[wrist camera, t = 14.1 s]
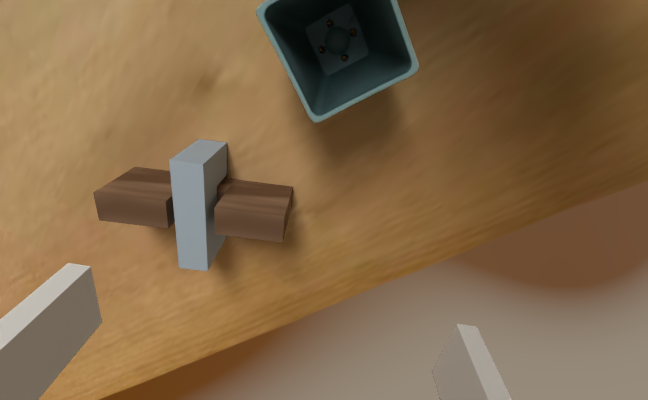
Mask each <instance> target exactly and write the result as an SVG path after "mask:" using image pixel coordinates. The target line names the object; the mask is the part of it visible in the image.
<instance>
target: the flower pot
mask: <svg viewBox="0 0 648 400" xmlns="http://www.w3.org/2000/svg"><path fill="white" fill-rule="evenodd" d="M256 15H257V17H258V19H259V21H260V23H261V25H262V27H263V29H264V31H265V33H266V34H267V36H268V38H269V40H270V42H271V44H272V46H273V47H274V49H275V51H276V53H277V55H278V57H279V59H280V60H281V62H282V64H283V66H284V68H285V70H286V72H287V74H288V76H289V78H290V80H291V82H292V84H293V86H294V88H295V90H296V92H297V94H298V96H299V98H300V100H301V102H302V104H303V106H304V108H305V110H306V112H307V115H308V116H309V118H310V119H311V121H313V122H314V123H319V122H321V121H323V120H325V119H327V118H329V117H331V116H333V115H335V114H337V113H339V112H341V111H343V110H344V109H346V108H348V107H350V106H352V105H354V104H356V103H358V102H360V101H362V100H364V99H366V98H368V97H370V96H372V95H373V94H376V93H378V92H380V91H382V90H384V89H386V88H388V87H390V86H392V85H394V84H396V83H398V82H400V81H403V80H405V79H407V78H409V77H411V76H412V75H414V74H415V73H417V71H418V70H419V63H418V59H417V56H416V54H415V51H414V48H413V45H412V43H411V39H410V37H409V34H408V31H407V28H406V25H405V22H404V19H403V17H402V14H401V11H400V8H399V5H398V2H397V0H266V1H264V2H262V3H261V4H260V5H259V6H258V7H257V9H256ZM329 20H330V21H332V22H333V24H332V26H331V27H328V26H327V21H329ZM352 29H354V30H355V35H353V36H352V35H351V34H350V31H351V30H352ZM320 47H324V48H325V51H324V52H323V53H321V52H320V51H319V48H320ZM343 55H346V56H347V60H346V61H343V60H342V56H343Z"/></svg>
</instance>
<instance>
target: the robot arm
mask: <svg viewBox="0 0 648 400" xmlns="http://www.w3.org/2000/svg"><path fill="white" fill-rule="evenodd" d="M101 323H102V319H101V314H100V309H99V304H98V300H97V295H96V290H95V285H94V280H93V275H92V271H91V266H85V265H78V264H72V263H67V264H66V265H65V266H64V267H63V268H61V269H60V270H59V271H58V272H57V273H55V274H54V275H53V276H52V277H51V278H49V279H48V280H47V281H46V282H45V283H43V284H42V285H41V286H40V287H39V288H37V289H36V290H35V291H34V292H33V293H31V294H30V295H29V296H28V297H27V298H25V299H24V300H23V301H22V302H21V303H20V304H18V305H17V306H16V307H15V308H14V309H12V310H11V311H10V312H9V313H8V314H6V315H5V316H4V317H3V318H2V319H0V400H38V399H39V398H40V397H41V396H42V394H43V393H44V392H45V391H46V390H47V388H48V387H49V386H50V385H51V384H52V382H53V381H54V380H55V379H56V378H57V376H58V375H59V374H60V373H61V371H62V370H63V369H64V368H65V367H66V365H67V364H68V363H69V362H70V361H71V359H72V358H73V357H74V356H75V355H76V353H77V352H78V351H79V350H80V348H81V347H82V346H83V345H84V344H85V342H86V341H87V340H88V339H89V338H90V336H91V335H92V334H93V333H94V332H95V330H96V329H97V328H98V327H99V325H100V324H101ZM432 373H433V377H434V380H435V384H436V387H437V391H438V394H439V398H440V400H512V399H511V397H510V395H509V393H508V391H507V389H506V387H505V384H504V382H503V380H502V378H501V376H500V374H499V372H498V370H497V368H496V366H495V364H494V362H493V360H492V358H491V356H490V354H489V351H488V349H487V347H486V345H485V344H484V341H483V339H482V338H481V335H480V333H479V331H478V329H477V327H476V326H469V325H463V324H456V325H455V327H454V329H453V331H452V333H451V335H450V337H449V339H448V341H447V343H446V344H445V346H444V348H443V350H442V352H441V354H440V356H439V358H438V360H437V362H436V364H435V366H434V368H433V370H432Z"/></svg>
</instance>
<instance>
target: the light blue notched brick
mask: <svg viewBox="0 0 648 400" xmlns="http://www.w3.org/2000/svg"><path fill="white" fill-rule="evenodd" d="M169 164H170V175H171V186H172V197H173V207H174V218H175V229H176V239H177V250H178V261H179V268H185V269H194V270H202V271H208V270H209V268H210V266H211V264H212V263H213V261H214V259H215V257H216V255H217V254H218V252H219V250H220V248H221V246H222V244H223V243H224V241H225V239H226V237H227V236H225V235H217V234H215V216H214V207H215V206H216V205H217V186H218V184H219V183H220V182H221V181H222V180H223V178H224V177H225V176H226V175H227V143H226V142H218V141H211V140H203V139H198V140H197V141H195V142H194V143H193V144H191V145H190V146H188V147H187V148H186V149H184V150H183V151H181V152H180V153H178V154H177V155H176V156H174V157H173V158H171V159H170V160H169Z"/></svg>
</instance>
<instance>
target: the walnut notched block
mask: <svg viewBox="0 0 648 400" xmlns="http://www.w3.org/2000/svg"><path fill="white" fill-rule="evenodd" d="M292 191H293V187H289V186H282V185H274V184H266V183H258V182H250V181H242V180H235V179H227V178H223V180H222V181H221V182H220V183H219V184H218V186H217V205H216V206H215V207H214V216H215V234H217V235H225V236H233V237H241V238H250V239H258V240H266V241H274V242H283V238H284V234H285V230H286V226H287V222H288V218H289V215H290V211H291V202H292ZM94 198H95V203H96V207H97V212H98V217H99V220H101V221H110V222H118V223H126V224H134V225H143V226H151V227H159V228H167V229H168V228H169V227H170V226H171V225H172V224H173V223H174V222H175V218H174V207H173V197H172V186H171V175H170V171H164V170H156V169H148V168H140V167H134V168H132V169H131V170H129V171H128V172H126V173H124V174H123V175H121V176H120V177H118V178H116V179H115V180H113V181H111V182H110V183H108V184H107V185H105V186H103V187H102V188H100V189H99V190H97V191H95V192H94Z"/></svg>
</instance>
